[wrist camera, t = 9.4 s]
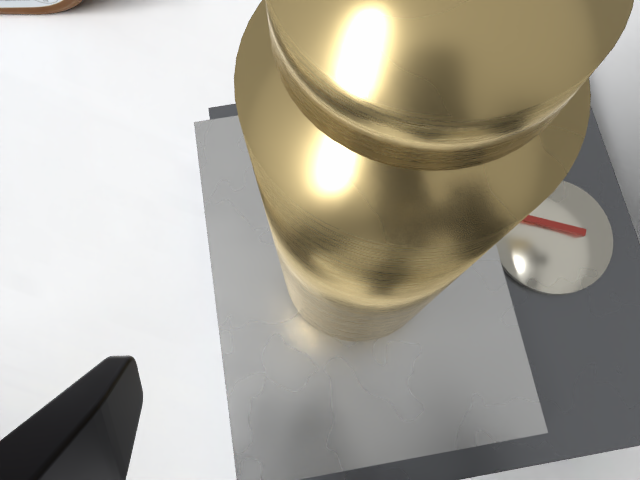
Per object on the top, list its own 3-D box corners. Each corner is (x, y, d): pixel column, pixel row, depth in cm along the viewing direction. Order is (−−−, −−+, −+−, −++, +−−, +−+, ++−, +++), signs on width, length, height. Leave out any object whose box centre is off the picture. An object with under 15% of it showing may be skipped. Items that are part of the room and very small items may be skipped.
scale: (661, 428, 20) (723, 434, 17) (255, 505, 20) (242, 526, 16) (546, 85, 24) (579, 38, 21) (208, 138, 24) (191, 99, 21)
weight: (458, 281, 19) (803, -16, 5) (345, 372, 18) (423, 290, 4) (366, 175, 20) (462, -285, 6) (256, 257, 19) (106, -83, 6)
